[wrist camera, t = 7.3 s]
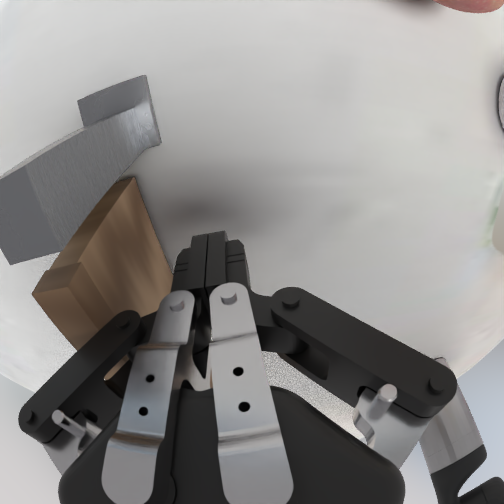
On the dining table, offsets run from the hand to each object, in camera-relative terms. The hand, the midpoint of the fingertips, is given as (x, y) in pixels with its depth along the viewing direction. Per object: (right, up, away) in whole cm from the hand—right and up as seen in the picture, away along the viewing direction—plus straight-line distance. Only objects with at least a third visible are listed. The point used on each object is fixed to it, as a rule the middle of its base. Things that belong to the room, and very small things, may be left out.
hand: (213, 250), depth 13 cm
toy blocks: (-5, +6, 0) cm, 8 cm away
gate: (-4, -4, +7) cm, 9 cm away
